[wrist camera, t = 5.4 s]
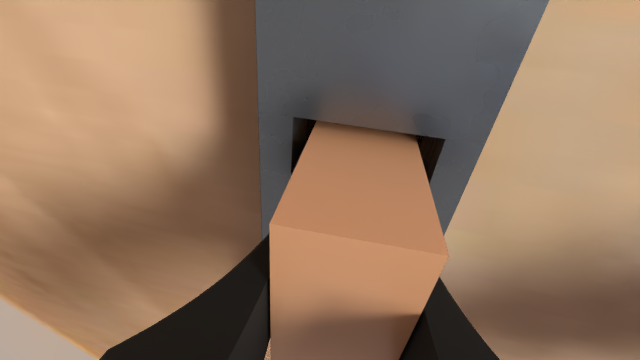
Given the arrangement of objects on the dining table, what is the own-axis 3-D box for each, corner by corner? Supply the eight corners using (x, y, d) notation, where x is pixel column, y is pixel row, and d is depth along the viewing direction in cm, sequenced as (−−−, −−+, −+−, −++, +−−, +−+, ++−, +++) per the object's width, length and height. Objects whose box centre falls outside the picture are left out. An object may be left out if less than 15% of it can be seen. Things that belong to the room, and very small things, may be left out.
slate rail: (385, 318, 21) (387, 362, 18) (277, 296, 22) (265, 336, 19) (541, -95, 9) (607, -130, 6) (283, -115, 9) (250, -153, 7)
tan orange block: (377, 254, 16) (378, 400, 10) (307, 242, 17) (271, 376, 11) (413, 129, 12) (449, 256, 6) (319, 115, 12) (269, 223, 7)
